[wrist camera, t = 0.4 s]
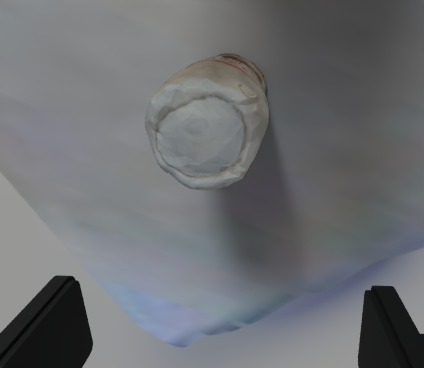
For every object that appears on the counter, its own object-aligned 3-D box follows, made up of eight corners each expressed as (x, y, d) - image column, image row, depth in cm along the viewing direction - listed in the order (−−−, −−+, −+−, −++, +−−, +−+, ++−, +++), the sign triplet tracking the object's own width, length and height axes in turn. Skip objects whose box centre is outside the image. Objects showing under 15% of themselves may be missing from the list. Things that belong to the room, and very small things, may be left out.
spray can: (282, 106, 38) (299, 155, 19) (220, 145, 41) (182, 222, 22) (240, 36, 36) (214, 18, 18) (177, 82, 39) (97, 108, 20)
